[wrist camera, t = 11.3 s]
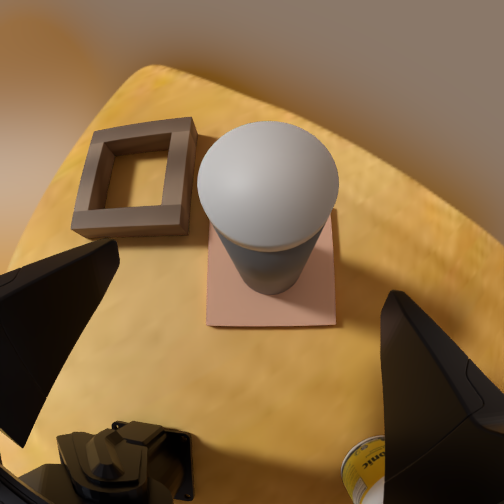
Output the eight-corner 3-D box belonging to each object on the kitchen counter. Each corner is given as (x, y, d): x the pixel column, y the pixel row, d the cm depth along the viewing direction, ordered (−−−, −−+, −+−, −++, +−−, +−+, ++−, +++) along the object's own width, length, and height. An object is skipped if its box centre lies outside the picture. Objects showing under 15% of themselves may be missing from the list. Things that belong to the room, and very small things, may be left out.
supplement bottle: (408, 429, 18) (476, 472, 9) (396, 484, 17) (449, 542, 7) (343, 436, 19) (388, 496, 9) (334, 493, 17) (364, 566, 8)
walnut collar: (188, 235, 23) (179, 224, 21) (86, 238, 24) (70, 229, 21) (197, 133, 25) (191, 116, 23) (105, 145, 26) (94, 131, 24)
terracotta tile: (334, 324, 21) (335, 324, 20) (207, 325, 21) (206, 325, 21) (328, 205, 23) (329, 202, 22) (212, 207, 24) (210, 204, 23)
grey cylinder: (302, 294, 21) (345, 244, 9) (237, 295, 21) (192, 245, 9) (300, 232, 22) (330, 122, 10) (238, 232, 22) (202, 124, 10)
